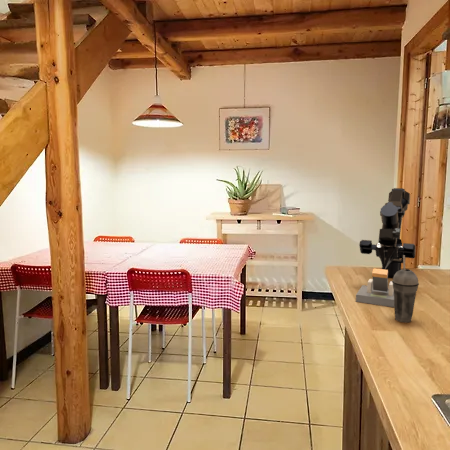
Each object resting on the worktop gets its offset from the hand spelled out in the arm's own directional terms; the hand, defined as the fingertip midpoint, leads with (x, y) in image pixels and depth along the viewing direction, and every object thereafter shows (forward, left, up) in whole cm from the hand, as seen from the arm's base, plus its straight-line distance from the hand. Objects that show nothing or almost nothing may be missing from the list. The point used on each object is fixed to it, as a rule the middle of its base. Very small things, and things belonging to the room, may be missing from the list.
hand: (383, 268), depth 144 cm
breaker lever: (+3, +5, -6) cm, 8 cm away
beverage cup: (+5, +23, -10) cm, 25 cm away
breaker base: (+3, +5, -10) cm, 11 cm away
